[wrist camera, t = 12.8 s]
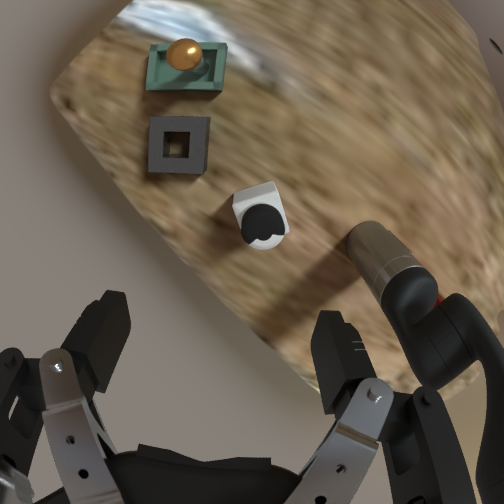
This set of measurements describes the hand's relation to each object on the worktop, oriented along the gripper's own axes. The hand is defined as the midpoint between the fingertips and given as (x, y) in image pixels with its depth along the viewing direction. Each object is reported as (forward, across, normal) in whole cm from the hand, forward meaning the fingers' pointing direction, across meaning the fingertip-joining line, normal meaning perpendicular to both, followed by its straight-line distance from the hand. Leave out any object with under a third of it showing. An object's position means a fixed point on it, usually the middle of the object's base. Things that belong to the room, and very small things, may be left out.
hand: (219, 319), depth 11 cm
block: (+38, +10, -3) cm, 39 cm away
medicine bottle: (+38, -4, +7) cm, 39 cm away
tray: (+38, +10, -16) cm, 42 cm away
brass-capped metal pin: (+37, +8, -16) cm, 41 cm away
